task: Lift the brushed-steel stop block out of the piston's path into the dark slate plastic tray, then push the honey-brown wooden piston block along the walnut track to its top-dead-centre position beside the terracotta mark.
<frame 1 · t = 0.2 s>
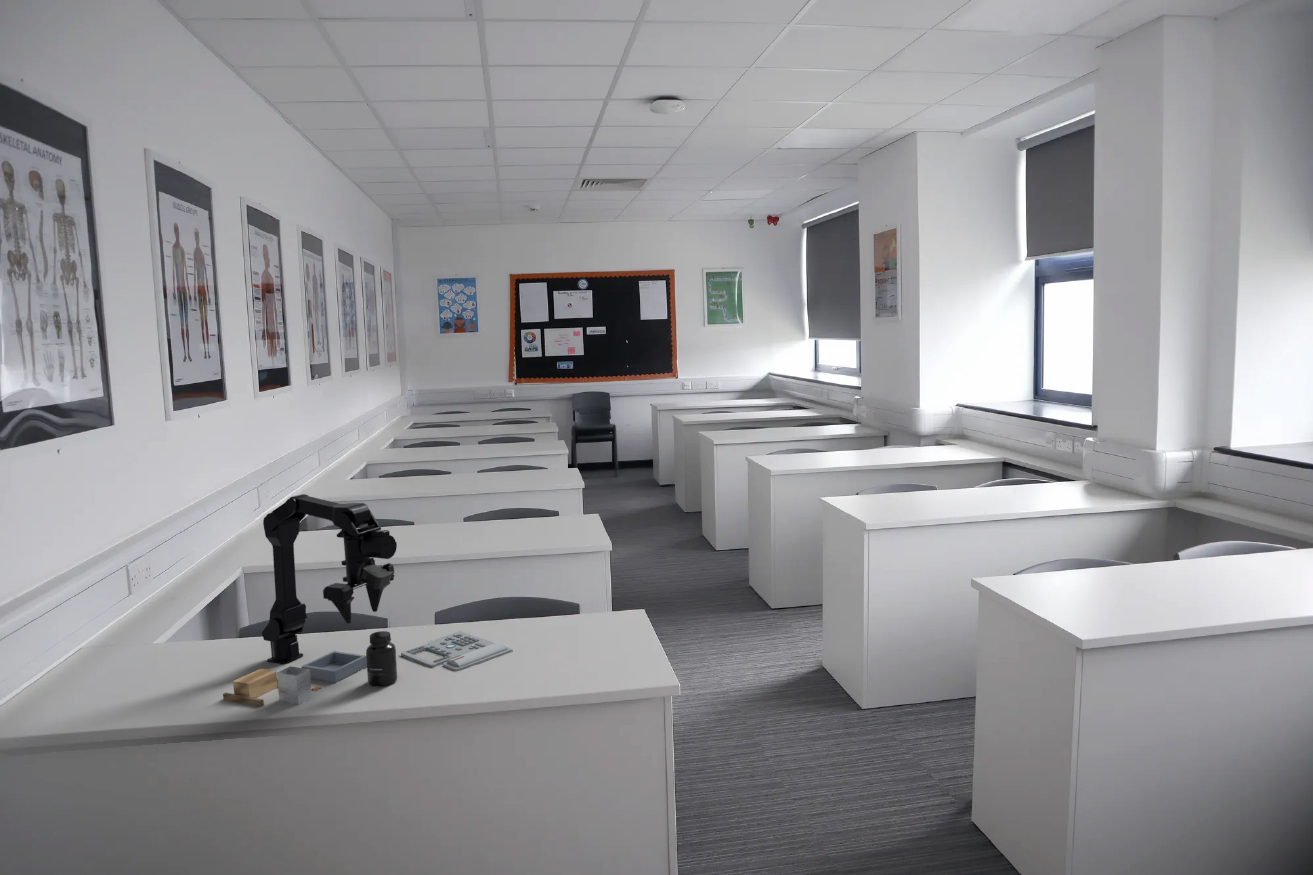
hand: (361, 617, 211), 14 cm above the table, tool pointing down, fingers open, 9 cm apart
tray: (335, 672, 214), on the table
office telephone: (455, 655, 225), on the table
supplement bottle: (383, 682, 206), on the table
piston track: (262, 693, 202), on the table
piston block: (255, 684, 202), point 2 cm above the table, slide at 0.0 cm
stop block: (295, 700, 198), on the table
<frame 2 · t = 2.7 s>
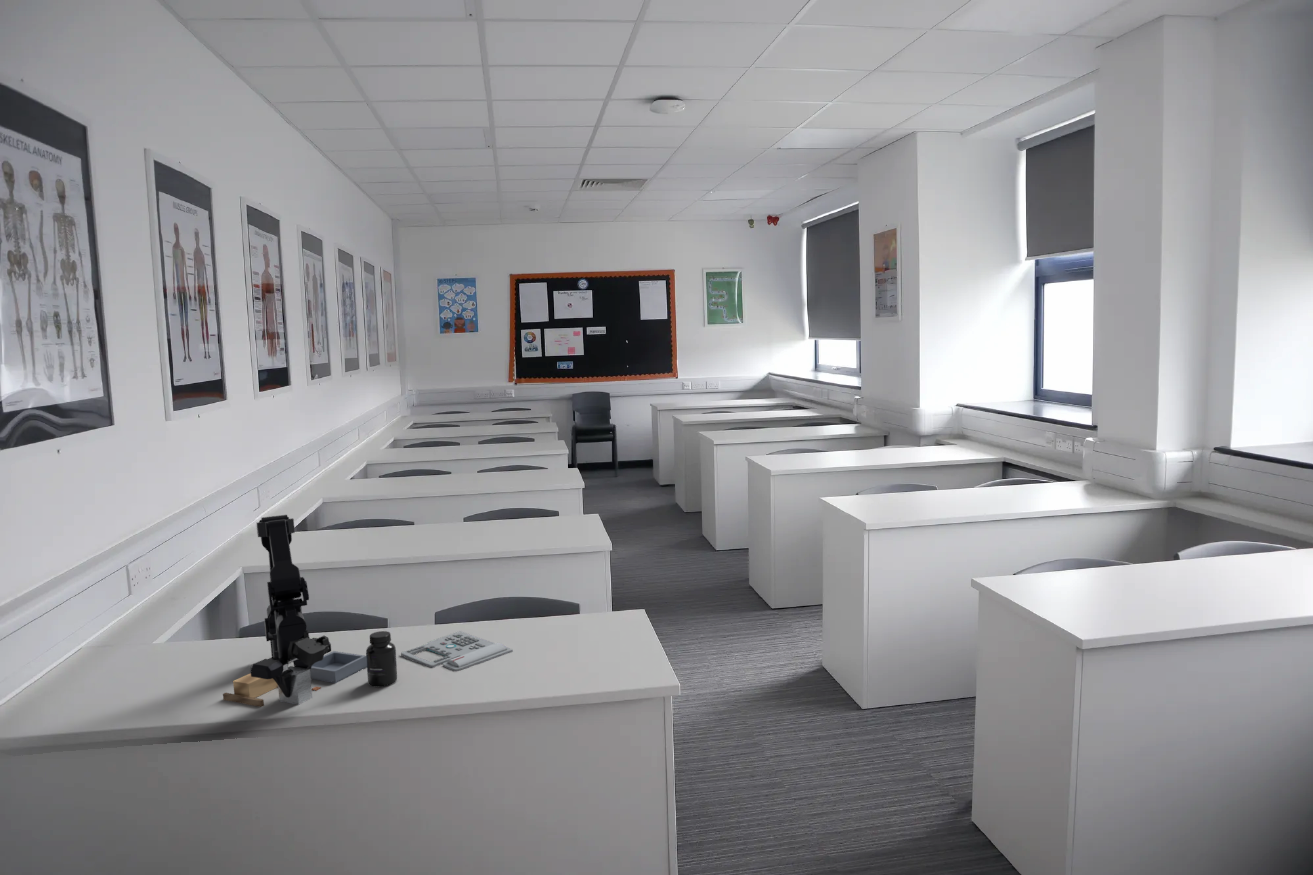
hand: (295, 693, 198), 2 cm above the table, tool pointing down, fingers closed on stop block, 4 cm apart
stop block: (295, 699, 198), on the table, touching gripper
everything else where it was.
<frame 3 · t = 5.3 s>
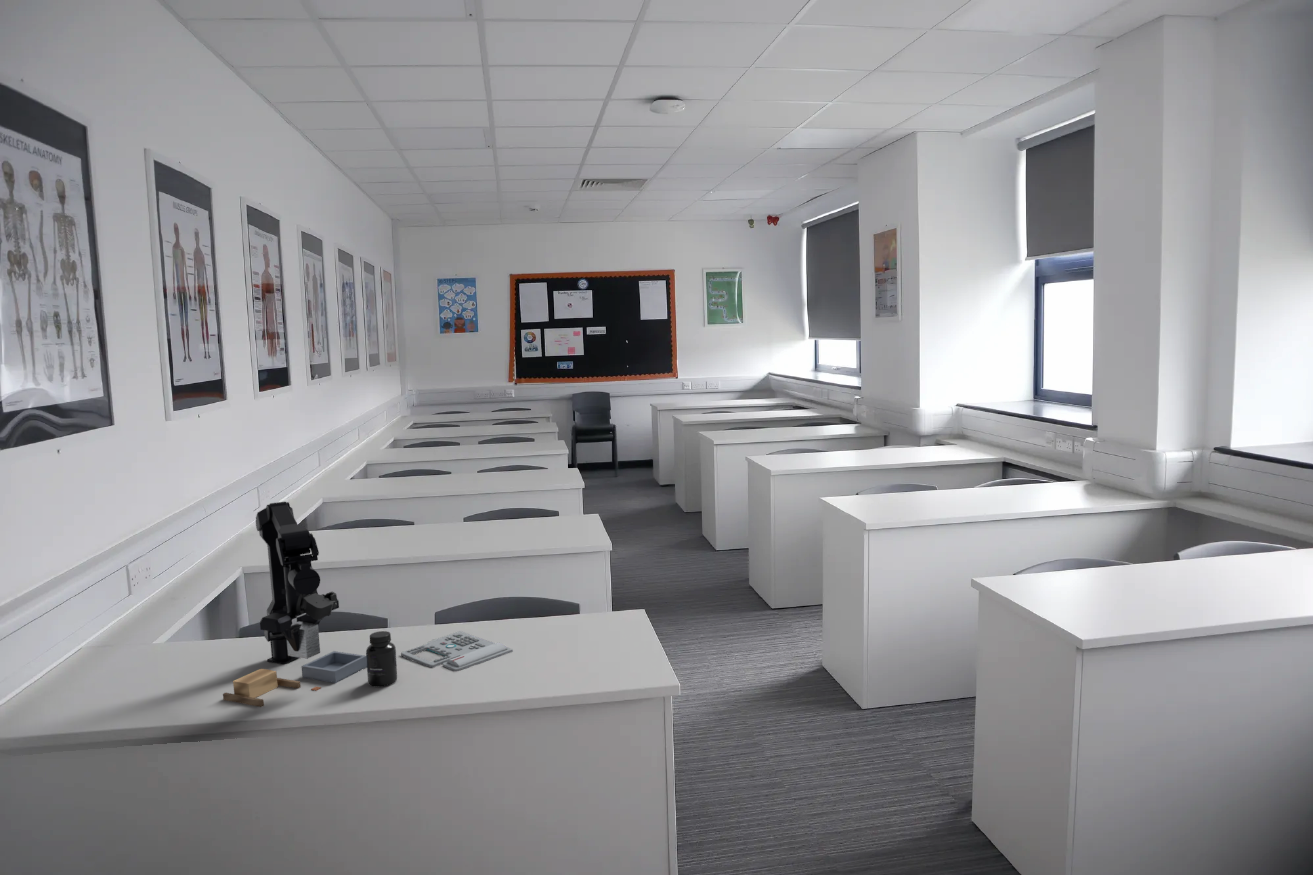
hand: (303, 647, 201), 11 cm above the table, tool pointing down, fingers closed on stop block, 4 cm apart
stop block: (304, 654, 201), point 9 cm above the table, touching gripper
everything else where it was.
when the fingers open (3 cm above the table, at t = 7.9 s): stop block drops 1 cm, resting on tray.
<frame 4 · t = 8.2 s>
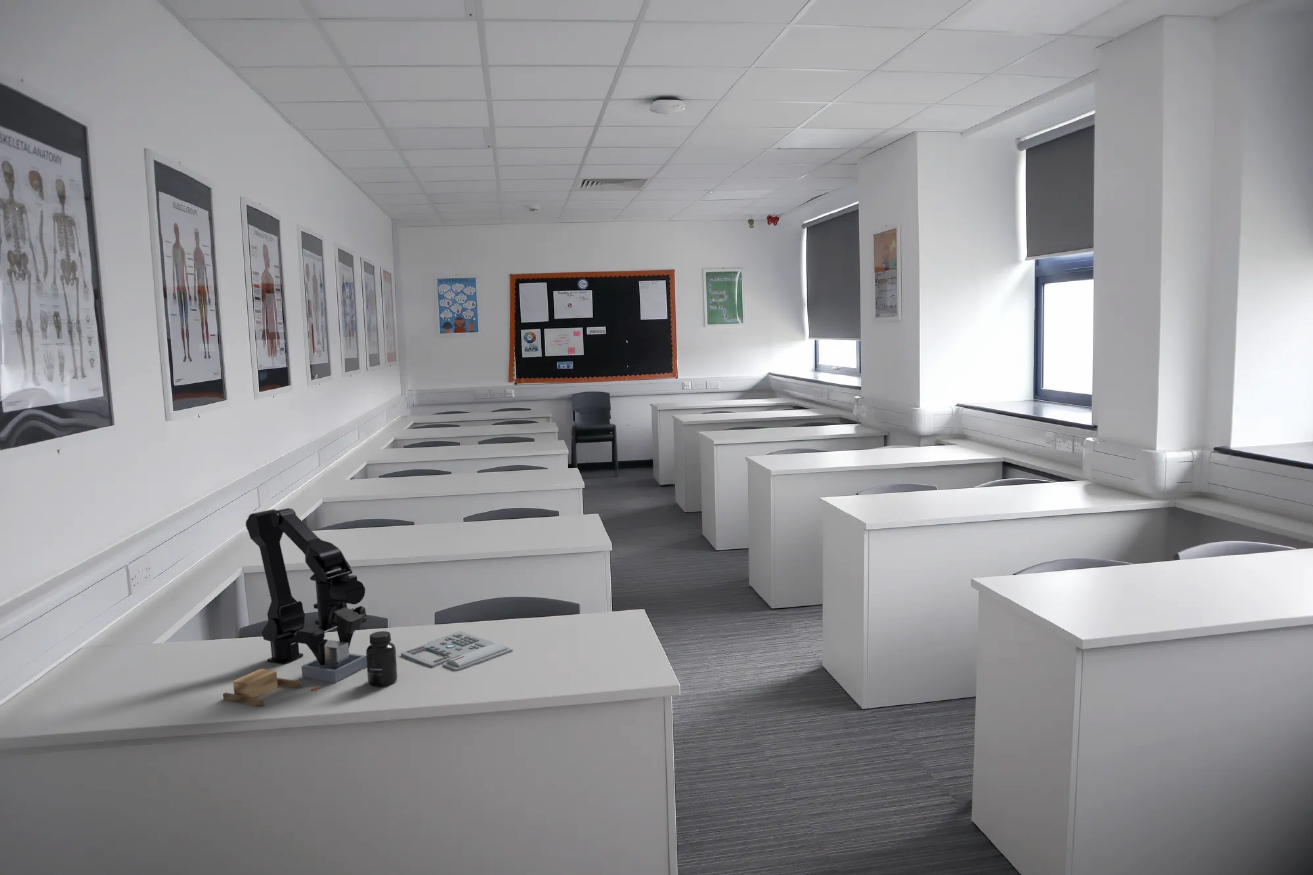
hand: (334, 659, 213), 3 cm above the table, tool pointing down, fingers open, 7 cm apart
stop block: (335, 670, 214), resting on tray
everything else where it was.
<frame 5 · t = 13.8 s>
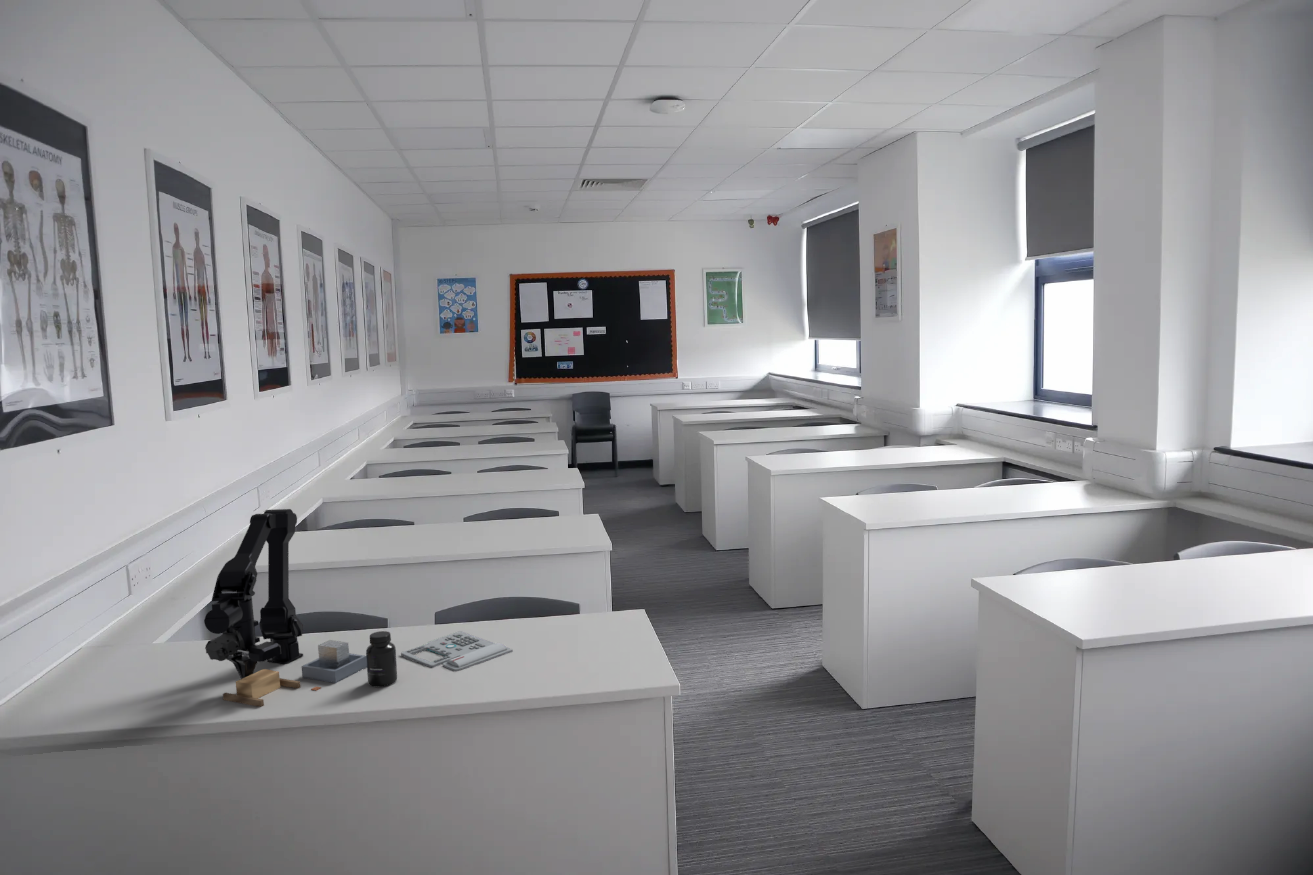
hand: (246, 682, 204), 2 cm above the table, tool pointing down, fingers closed
piston block: (258, 684, 202), point 2 cm above the table, slide at 0.9 cm, touching gripper
everything else where it was.
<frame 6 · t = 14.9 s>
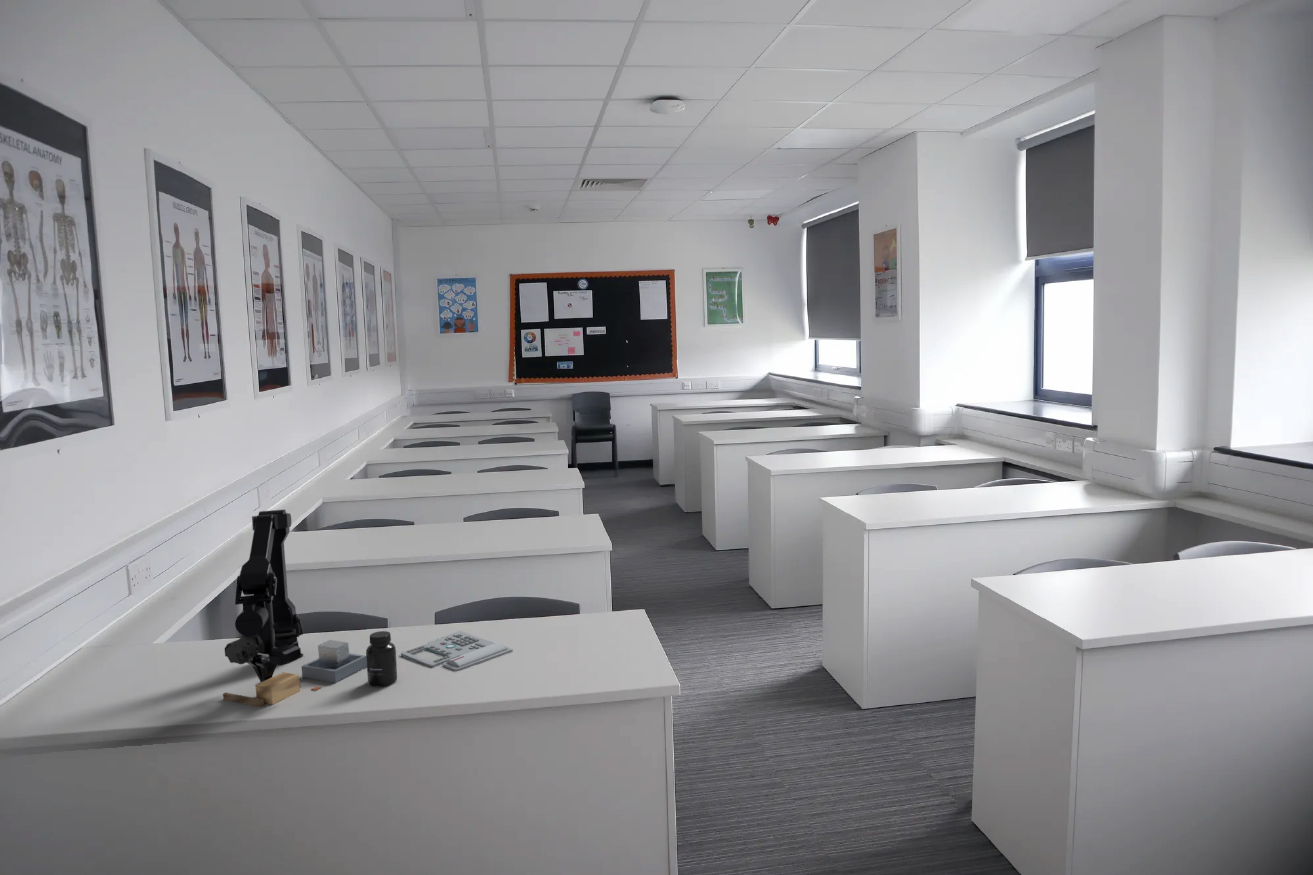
hand: (265, 686, 201), 2 cm above the table, tool pointing down, fingers closed
piston block: (278, 688, 200), point 2 cm above the table, slide at 7.2 cm, touching gripper
everything else where it was.
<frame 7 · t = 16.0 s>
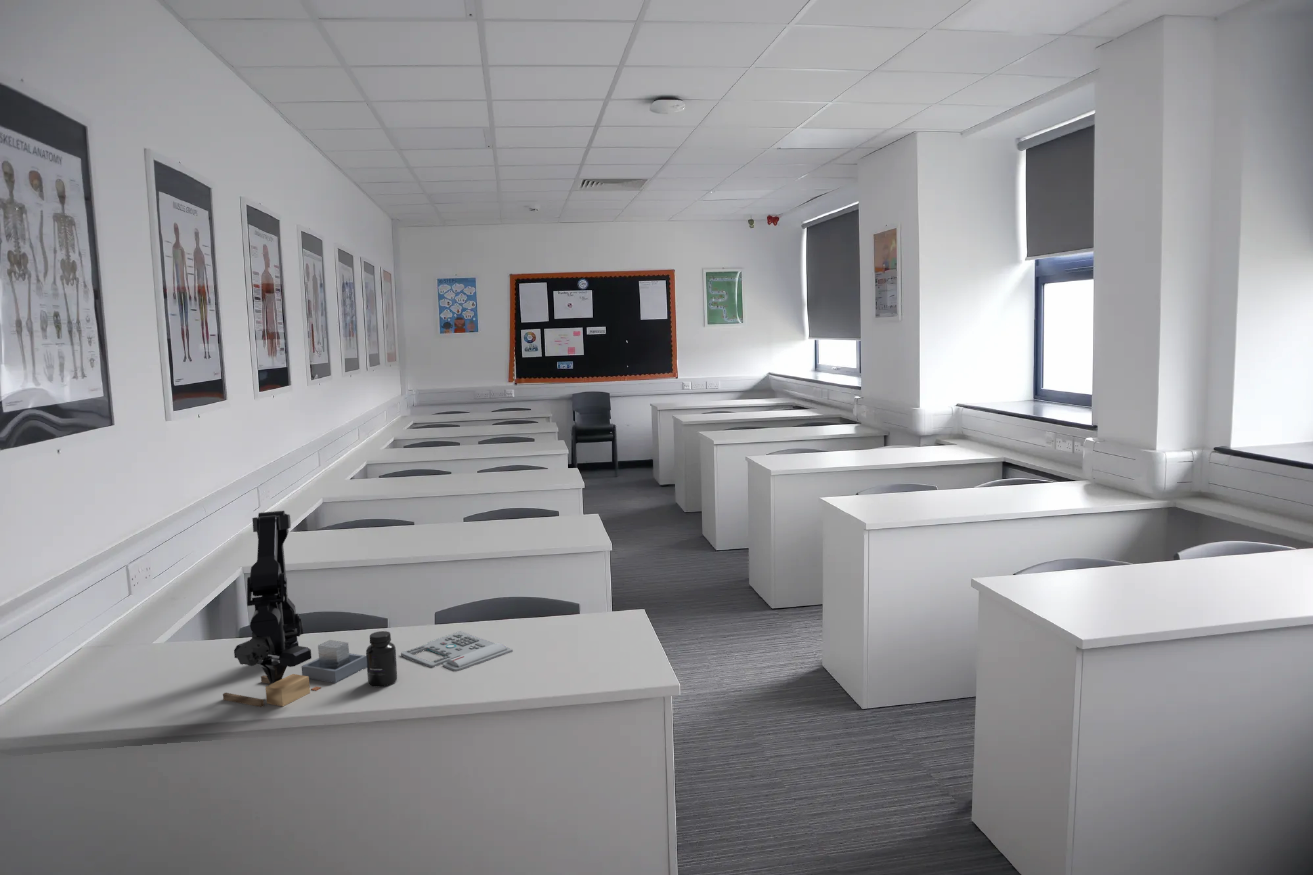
hand: (275, 687, 200), 2 cm above the table, tool pointing down, fingers closed
piston block: (288, 689, 198), point 2 cm above the table, slide at 10.3 cm, touching gripper
everything else where it was.
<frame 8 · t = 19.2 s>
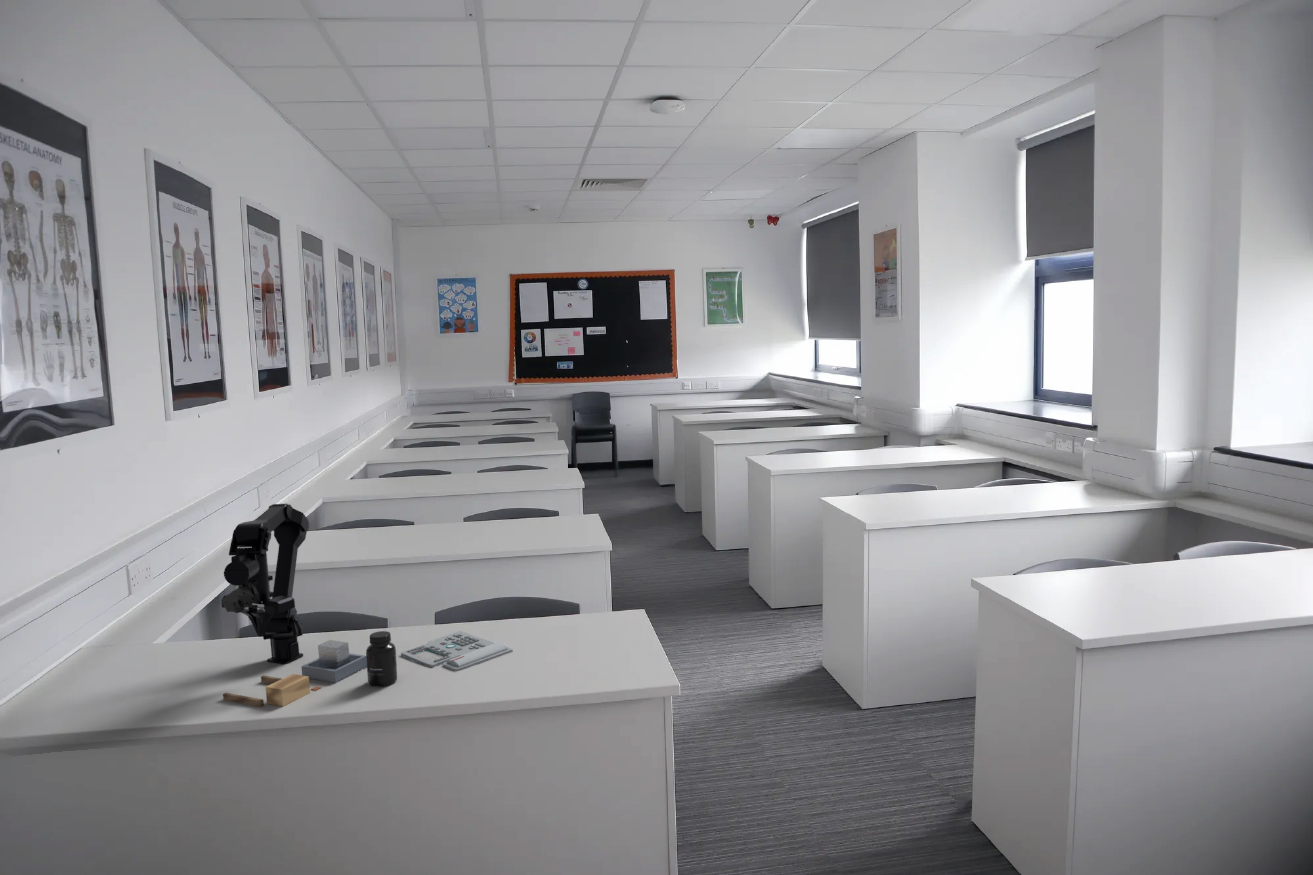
hand: (261, 635, 210), 11 cm above the table, tool pointing down, fingers closed
piston block: (288, 689, 198), point 2 cm above the table, slide at 10.3 cm
everything else where it was.
at the end: stop block 0.0 cm off-centre on the tray, point 0.4 cm above the tray's base; stop block tilted 0°; piston block slide at 10.3 cm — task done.
